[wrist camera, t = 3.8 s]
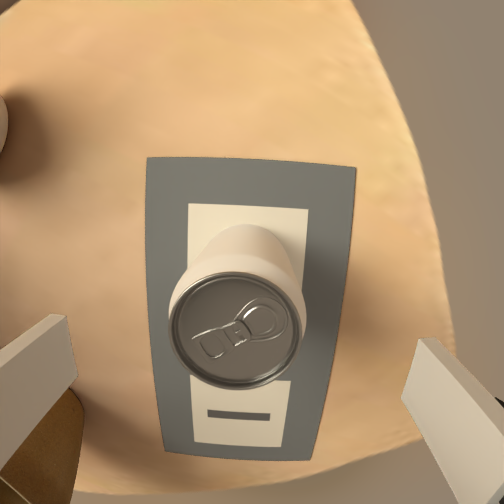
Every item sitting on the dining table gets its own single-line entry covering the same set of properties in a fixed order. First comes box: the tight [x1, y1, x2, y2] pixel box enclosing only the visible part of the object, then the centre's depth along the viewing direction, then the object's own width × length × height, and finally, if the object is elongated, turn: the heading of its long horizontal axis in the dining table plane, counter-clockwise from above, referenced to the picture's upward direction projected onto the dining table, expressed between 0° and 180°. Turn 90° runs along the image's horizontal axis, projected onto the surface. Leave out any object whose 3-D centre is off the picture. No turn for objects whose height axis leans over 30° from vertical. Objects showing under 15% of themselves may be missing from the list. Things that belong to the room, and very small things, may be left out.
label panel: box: [145, 157, 356, 461], centre depth 26 cm, size 16×30×1 cm, turn 177°
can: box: [168, 224, 306, 390], centre depth 19 cm, size 6×6×12 cm
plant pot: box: [0, 388, 84, 504], centre depth 21 cm, size 15×15×16 cm
